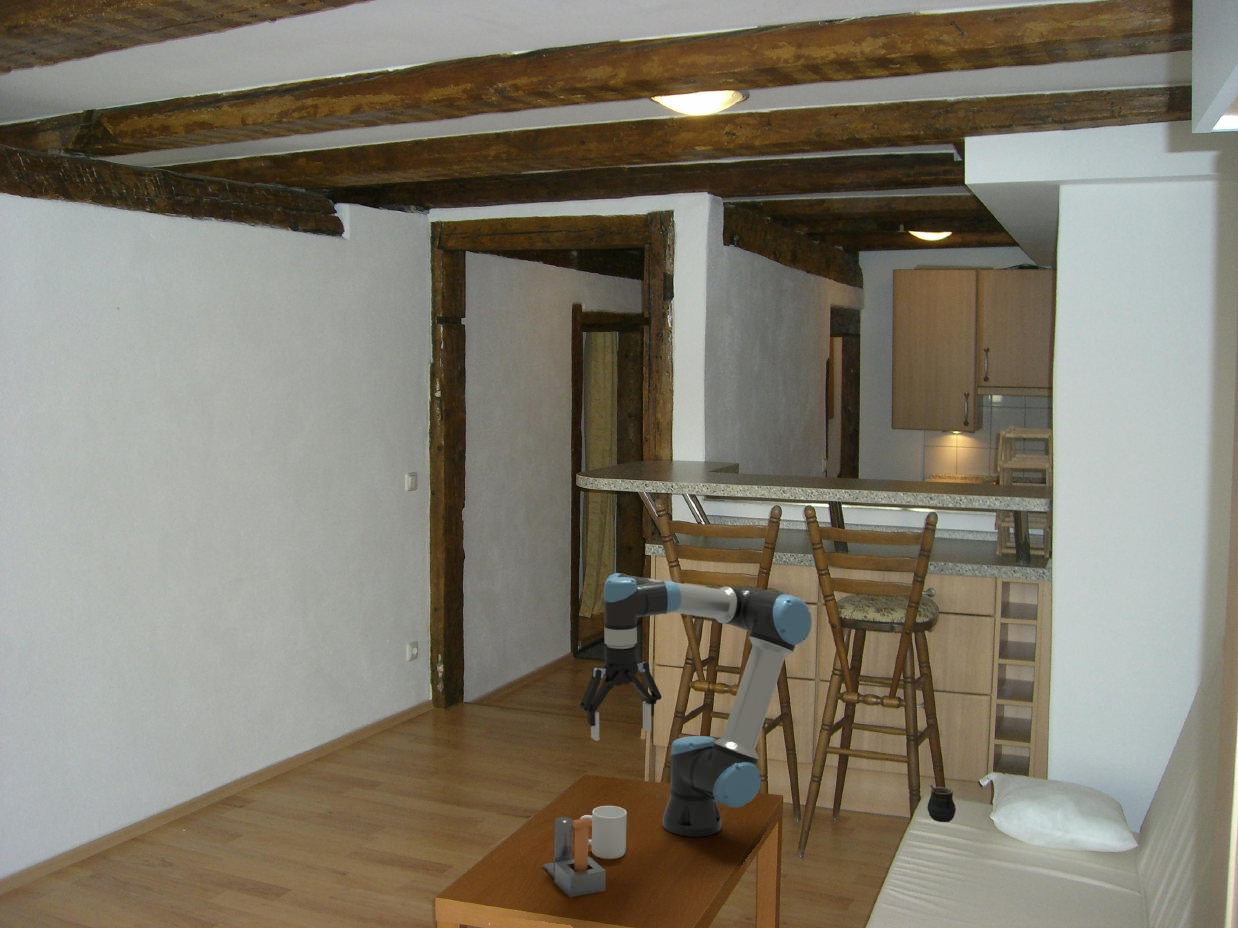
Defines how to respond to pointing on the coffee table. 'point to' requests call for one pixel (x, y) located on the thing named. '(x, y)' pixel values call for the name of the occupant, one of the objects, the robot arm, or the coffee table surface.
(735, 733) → the robot arm
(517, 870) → the coffee table surface
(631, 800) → the coffee table surface
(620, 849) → the cup
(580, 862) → the wedge pin
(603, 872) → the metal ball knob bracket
